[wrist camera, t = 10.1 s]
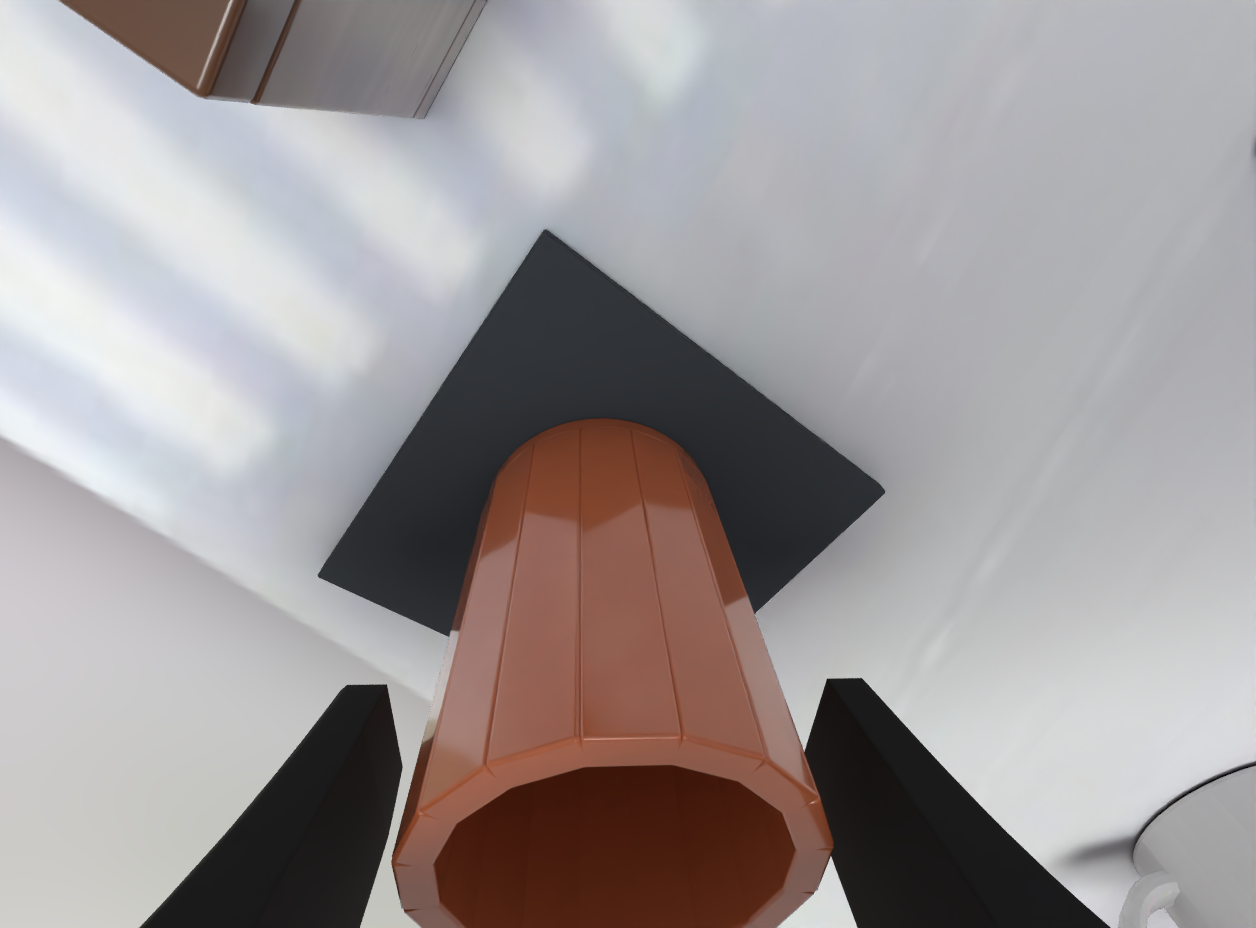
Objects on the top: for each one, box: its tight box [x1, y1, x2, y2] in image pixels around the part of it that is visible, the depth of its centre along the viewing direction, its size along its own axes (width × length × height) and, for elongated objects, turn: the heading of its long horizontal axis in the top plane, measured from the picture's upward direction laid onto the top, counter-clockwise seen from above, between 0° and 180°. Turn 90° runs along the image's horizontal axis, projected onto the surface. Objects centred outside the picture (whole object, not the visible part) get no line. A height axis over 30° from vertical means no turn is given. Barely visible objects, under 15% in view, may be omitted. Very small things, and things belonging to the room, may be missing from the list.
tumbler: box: [392, 418, 834, 928], centre depth 11 cm, size 5×5×8 cm
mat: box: [318, 230, 885, 637], centre depth 15 cm, size 10×10×1 cm
